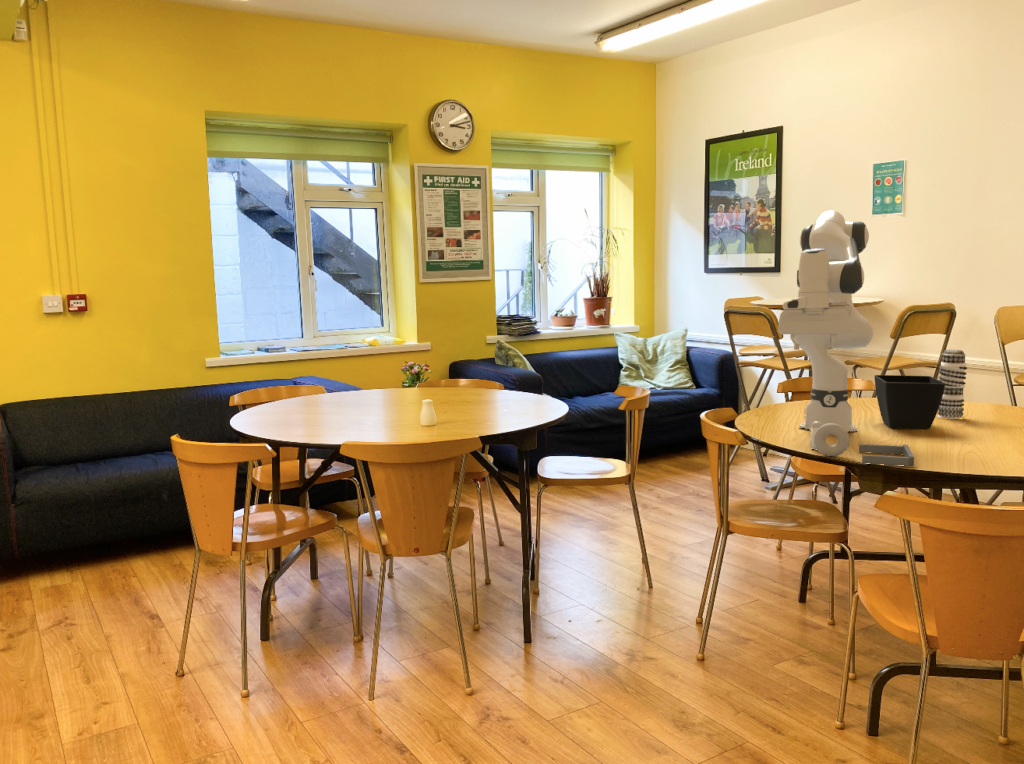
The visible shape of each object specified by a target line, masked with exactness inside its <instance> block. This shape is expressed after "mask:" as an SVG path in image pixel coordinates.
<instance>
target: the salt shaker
mask: <svg viewBox="0 0 1024 764" xmlns="http://www.w3.org/2000/svg"><path fill="white" fill-rule="evenodd" d="M822 425H823V424H822V423H821V422H819V421H815V422H813V423H812V424H811V430H810V438H809V439H810V441H809V444H810V446H809V449H810V448H812V449H817V448H816V446H815V444H814V434H815V432H816V431H817V429H818V428H819V427H820V426H822Z"/></svg>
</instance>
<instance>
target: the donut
mask: <svg viewBox="0 0 1024 764" xmlns="http://www.w3.org/2000/svg"><path fill="white" fill-rule="evenodd" d="M830 435H832V436H835V437H836V439H837V441H836V443H835V444H829V443H827V439H826V438H827V436H830ZM850 443H851V440H850V435H849V432H847V431H846V430H845V429H844V428H843V427H842V426H840V425H838V424H834V423H827V424H824V425H822V426H820V427H819V428H818V429H817V431H816V432H815V434H814V444H815V446H816V448H817V450H818V451H817V452H819V453H821V454H822V455H824V456H826V455H829V456H828V457H830V456H833V457H839V456H840V455H843V454H844V453H845V452H846V451H847V450H848V448H849V447H850ZM838 455H839V456H838Z"/></svg>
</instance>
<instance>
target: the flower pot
mask: <svg viewBox="0 0 1024 764" xmlns="http://www.w3.org/2000/svg"><path fill="white" fill-rule="evenodd" d="M939 380H940V379H937V378H935V377H933V376H931V375H903V374H902V375H897V374H896V375H895V374H892V375H891V374H890V375H889V374H888V375H887V374H874V386H875V393H876V398H877V403H878V409H879V412H880V416H881V419H882V422H883V423H884V424H885V425H886V426H887V427H889V428H891V429H901V428H903V429H907V430H908V429H909V430H930V429H931V427H932V426H933V423H934V421H935V419H936V417H937V415H938V413H937V412H938V411H939V410H938V409H939V406H940V403H941V400H942V396H943V393H944V388H945V383H944V382H942V381H939Z"/></svg>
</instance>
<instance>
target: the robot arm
mask: <svg viewBox="0 0 1024 764" xmlns="http://www.w3.org/2000/svg"><path fill="white" fill-rule="evenodd" d="M869 238H870V233H869V230H868V227H867V225H866V224H865V222H862V221H858V220H853V221H846V219H845V217H844V216H843V214H842V213H841V212H839V211H835V210H827V211H823V212H822V213H821V214H819V215H818V216H817V218H816V219H815V221H814V222H813V224H810V225H807V226H805V227H804V228H803V229H802V230H801V234H800V236H799V245H800V248H801V250H802V251H801V252H800V256H799V262H798V263H799V265H798V269H797V270H796V285H797V287H798V288H799V289H798V293H797V295H798V296H797V298H792V299H790V300H787V301H785V302H783V303H782V308H783V310H782V311H781V312H780V315H779V320H778V327H777V333H779V334H780V335H789V336H790V337H789V338H790V340H791V342H792V343H793V349H794V351H798V350H799V351H800V348H801V350H803V351H804V353H805V354H806V356H807V358H808V359H809V362H810V365H811V370H812V371H811V372H812V387H811V389H810V399H811V400H810V401H809V402H807V404H806V406H805V408H804V421H803V422H802V423H800V424H799V426H798V428H799V427H800V428H799V429H801V428H805V429H804V430H807V429H809V430H808V431H811V424H812V423H813V422H815V421H819V422H821V423H822V424H823V425H824V424H827V423H834V424H838V425H840V426H842V427H843V428H844V429H845V430H846V431H847V432H848V433H849V431H850V432H858V431H859V430H858V427H857V426H856V425H854V424H853V406H852V405H851V404H850V403H849V402H848V400H849V389H848V367H847V365H846V363H844V362H843V361H841V360H839V359H837V358H835V357H833V356H832V355H831V354H830V352H829V350H831V351H832V350H834V349H836V350H837V349H840V350H853V349H860V348H864V347H865V348H866V347H867V346H868V345H869V344H870V343H871V341H872V339H873V337H874V329H873V326H872V323H871V322H870V320H868V319H867V318H866V317H864V316H863V315H862V314H861V313H859V312H858V310H857V309H856V307H855V305H854V303H853V299H852V298H853V297H852V295H854V294H856V293H857V292H858V291H859V290H861V288H862V287H863V285H864V283H865V272H864V268H863V266H862V263H861V260H860V255H859V254H861V253H862V252H864V250H865V249H866V248H867V245H868V243H869ZM857 430H858V431H857Z"/></svg>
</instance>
